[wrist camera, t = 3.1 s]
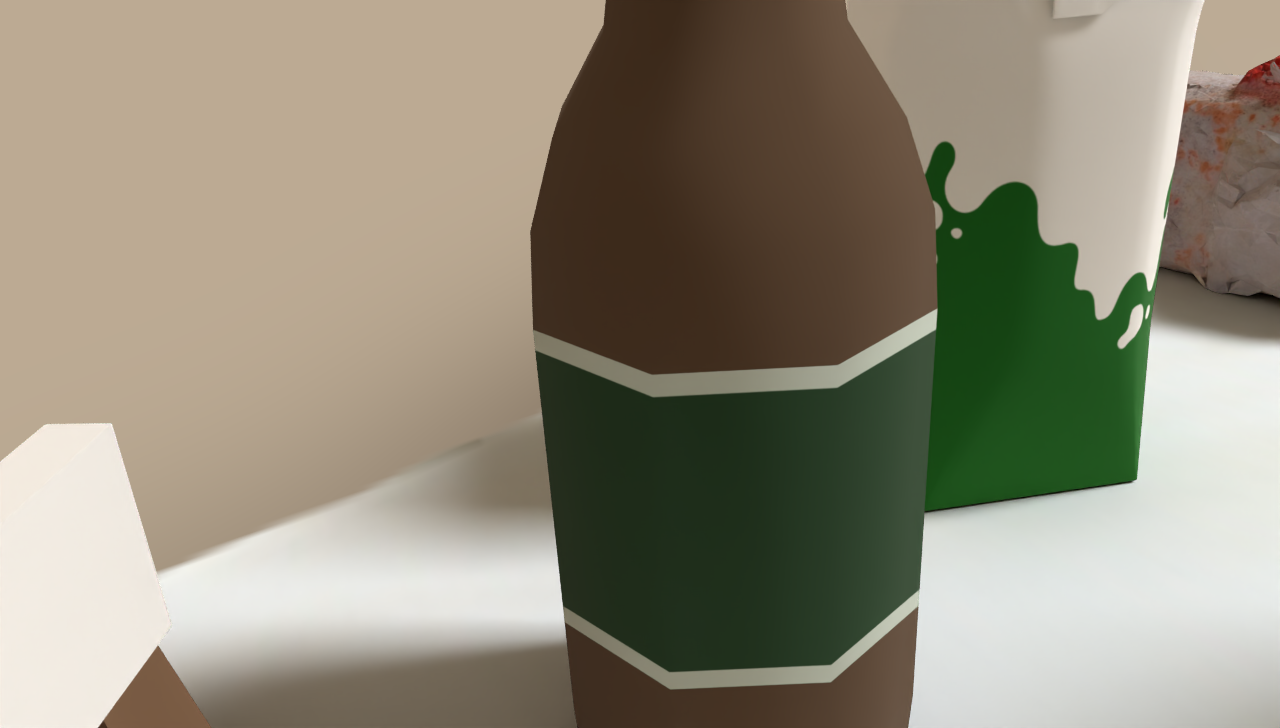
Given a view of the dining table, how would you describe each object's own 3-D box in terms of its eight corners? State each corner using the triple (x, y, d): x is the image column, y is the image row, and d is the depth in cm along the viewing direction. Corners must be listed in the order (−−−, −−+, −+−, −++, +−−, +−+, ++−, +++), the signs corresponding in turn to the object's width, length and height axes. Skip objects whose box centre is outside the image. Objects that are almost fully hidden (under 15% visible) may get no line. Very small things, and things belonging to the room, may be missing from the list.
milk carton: (1182, 492, 33) (1318, -259, 25) (899, 535, 32) (939, -238, 23) (1039, 372, 41) (1104, -227, 32) (808, 403, 40) (814, -211, 31)
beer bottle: (650, 927, 21) (519, -759, 11) (530, 676, 27) (378, -510, 17) (983, 789, 23) (1137, -678, 13) (800, 590, 30) (806, -488, 20)
